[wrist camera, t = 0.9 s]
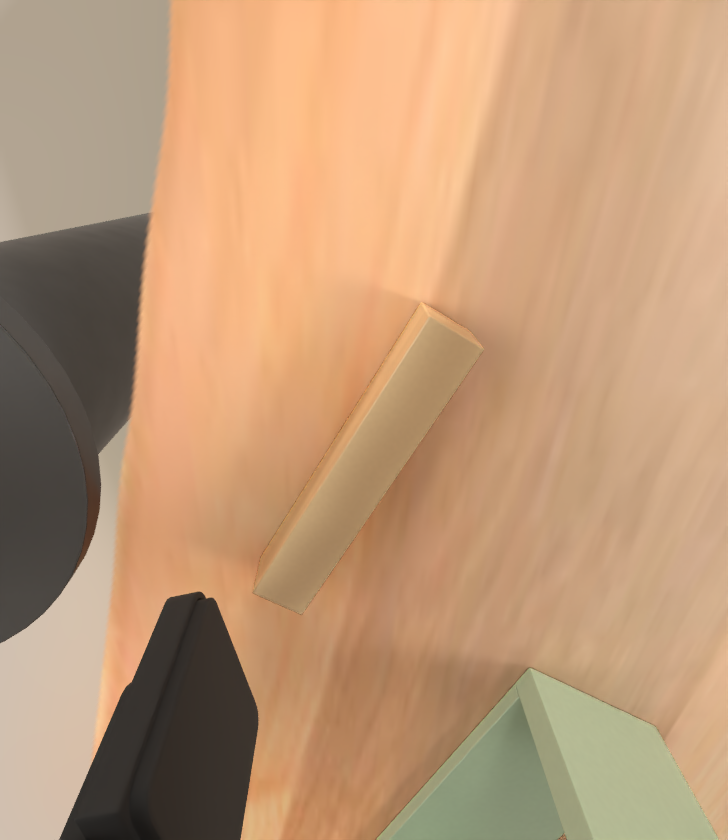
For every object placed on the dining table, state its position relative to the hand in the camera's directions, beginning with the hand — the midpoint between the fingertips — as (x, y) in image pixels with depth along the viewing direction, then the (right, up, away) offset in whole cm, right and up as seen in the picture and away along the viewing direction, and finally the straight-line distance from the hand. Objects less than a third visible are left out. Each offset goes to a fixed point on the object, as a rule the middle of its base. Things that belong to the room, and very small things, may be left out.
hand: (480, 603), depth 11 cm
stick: (-2, +2, +19) cm, 20 cm away
